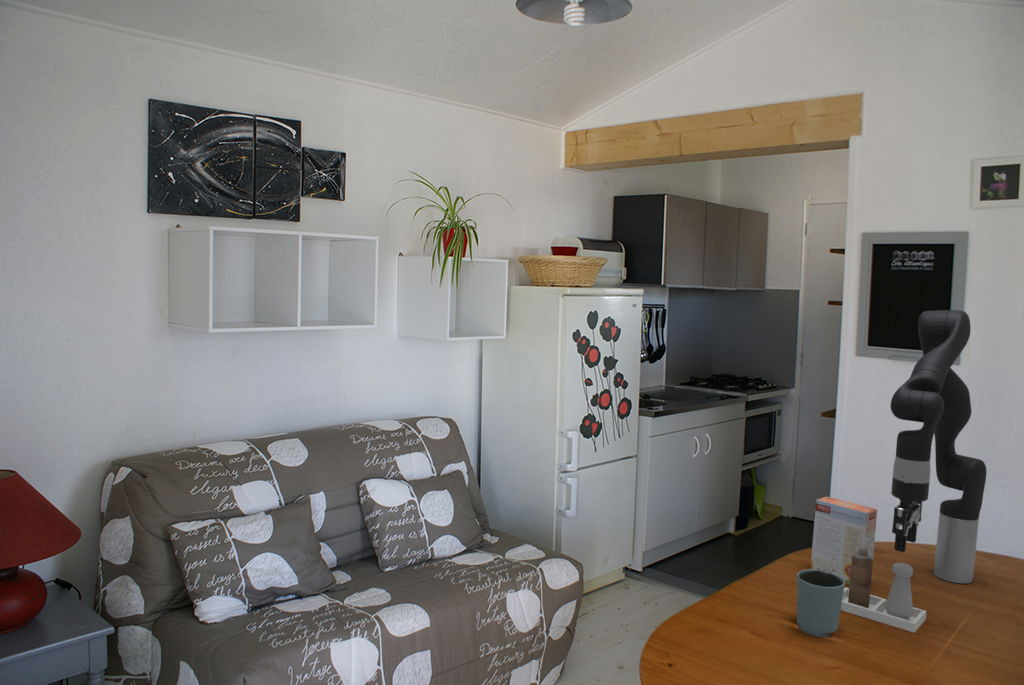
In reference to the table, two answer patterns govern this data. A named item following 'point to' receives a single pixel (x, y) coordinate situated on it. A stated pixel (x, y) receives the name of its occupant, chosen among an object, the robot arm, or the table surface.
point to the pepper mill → (860, 578)
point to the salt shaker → (900, 592)
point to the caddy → (883, 613)
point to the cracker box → (841, 535)
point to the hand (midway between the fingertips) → (905, 546)
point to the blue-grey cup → (819, 601)
